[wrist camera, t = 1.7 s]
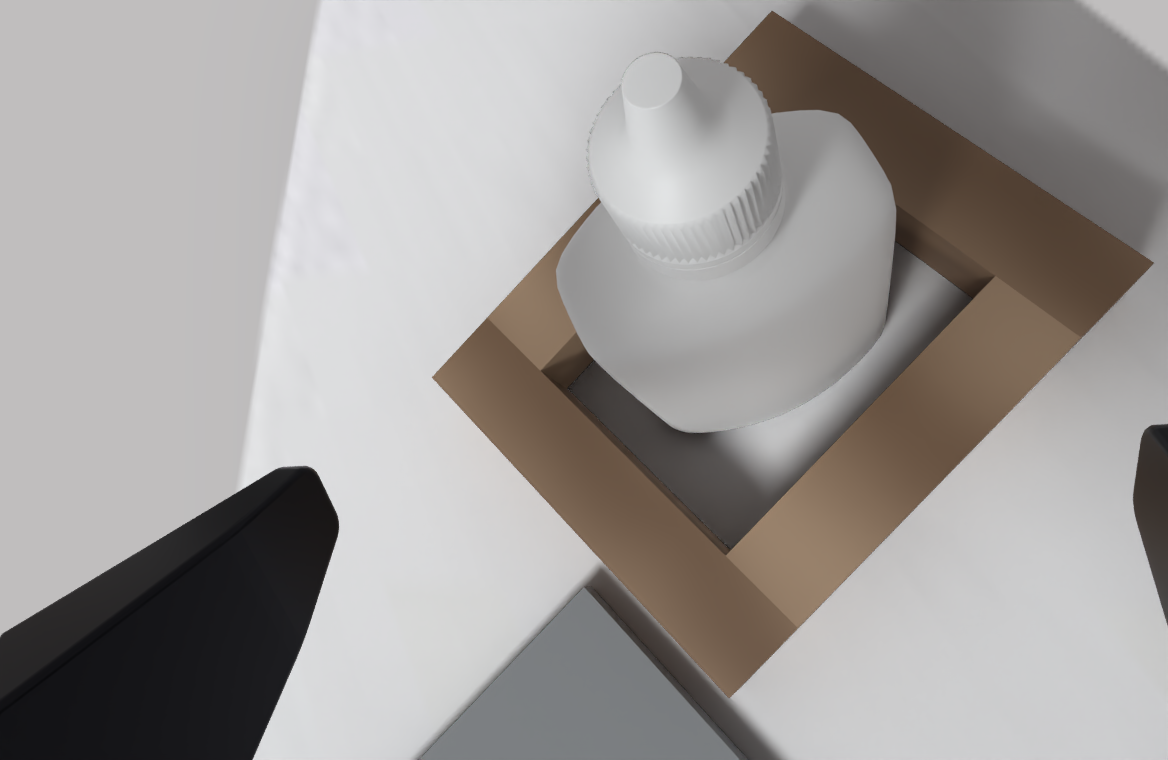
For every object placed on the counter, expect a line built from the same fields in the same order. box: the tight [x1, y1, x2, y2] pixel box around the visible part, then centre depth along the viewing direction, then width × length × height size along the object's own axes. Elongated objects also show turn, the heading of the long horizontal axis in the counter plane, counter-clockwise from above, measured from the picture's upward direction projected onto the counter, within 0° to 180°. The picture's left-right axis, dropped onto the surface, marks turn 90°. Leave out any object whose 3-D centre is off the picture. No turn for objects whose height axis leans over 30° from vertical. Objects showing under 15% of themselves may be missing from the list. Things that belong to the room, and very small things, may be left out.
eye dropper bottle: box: [556, 52, 896, 433], centre depth 15 cm, size 4×6×12 cm
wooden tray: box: [432, 11, 1154, 698], centre depth 20 cm, size 12×10×2 cm
